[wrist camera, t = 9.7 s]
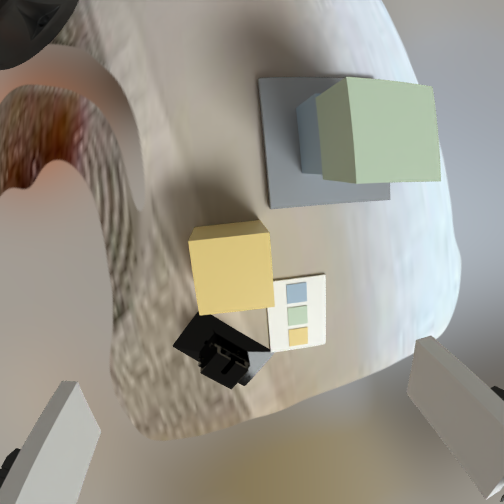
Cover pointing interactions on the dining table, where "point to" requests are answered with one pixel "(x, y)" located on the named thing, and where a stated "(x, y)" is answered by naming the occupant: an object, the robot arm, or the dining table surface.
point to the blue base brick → (309, 136)
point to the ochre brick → (232, 267)
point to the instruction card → (298, 313)
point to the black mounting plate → (222, 351)
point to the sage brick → (378, 132)
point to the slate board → (288, 149)
